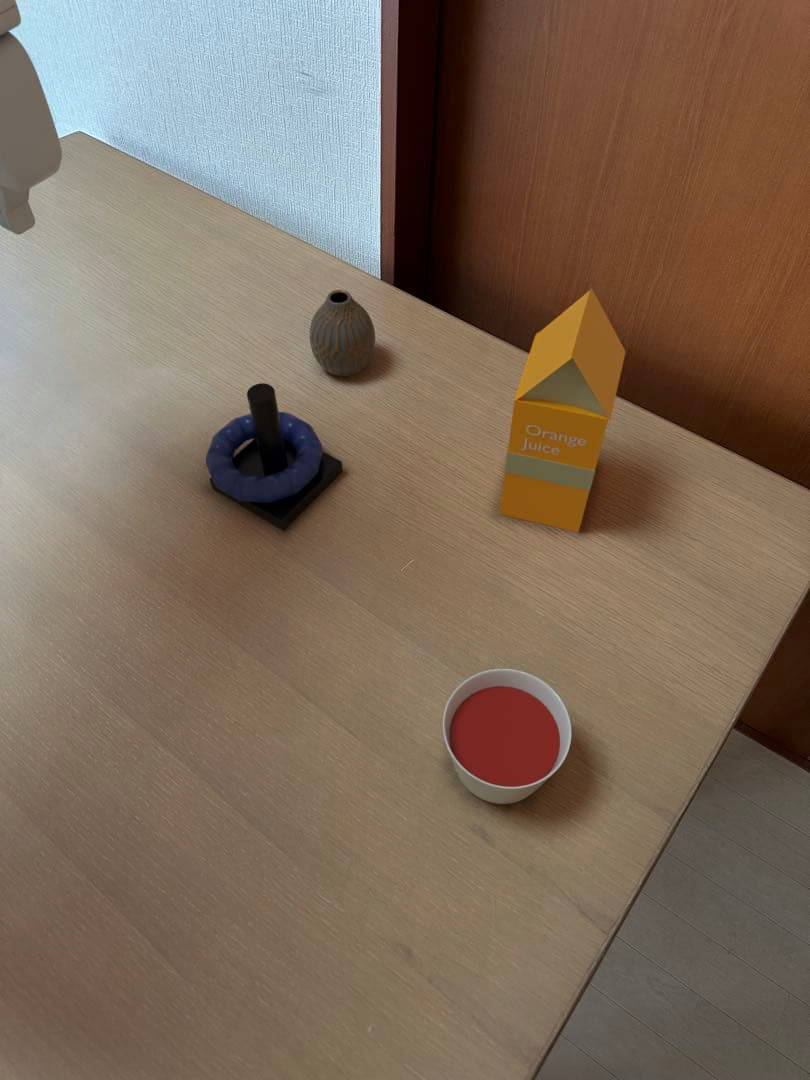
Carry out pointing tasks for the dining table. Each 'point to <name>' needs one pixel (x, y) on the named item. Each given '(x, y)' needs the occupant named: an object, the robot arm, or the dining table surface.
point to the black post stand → (276, 461)
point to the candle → (505, 734)
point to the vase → (342, 335)
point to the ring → (261, 486)
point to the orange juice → (562, 416)
